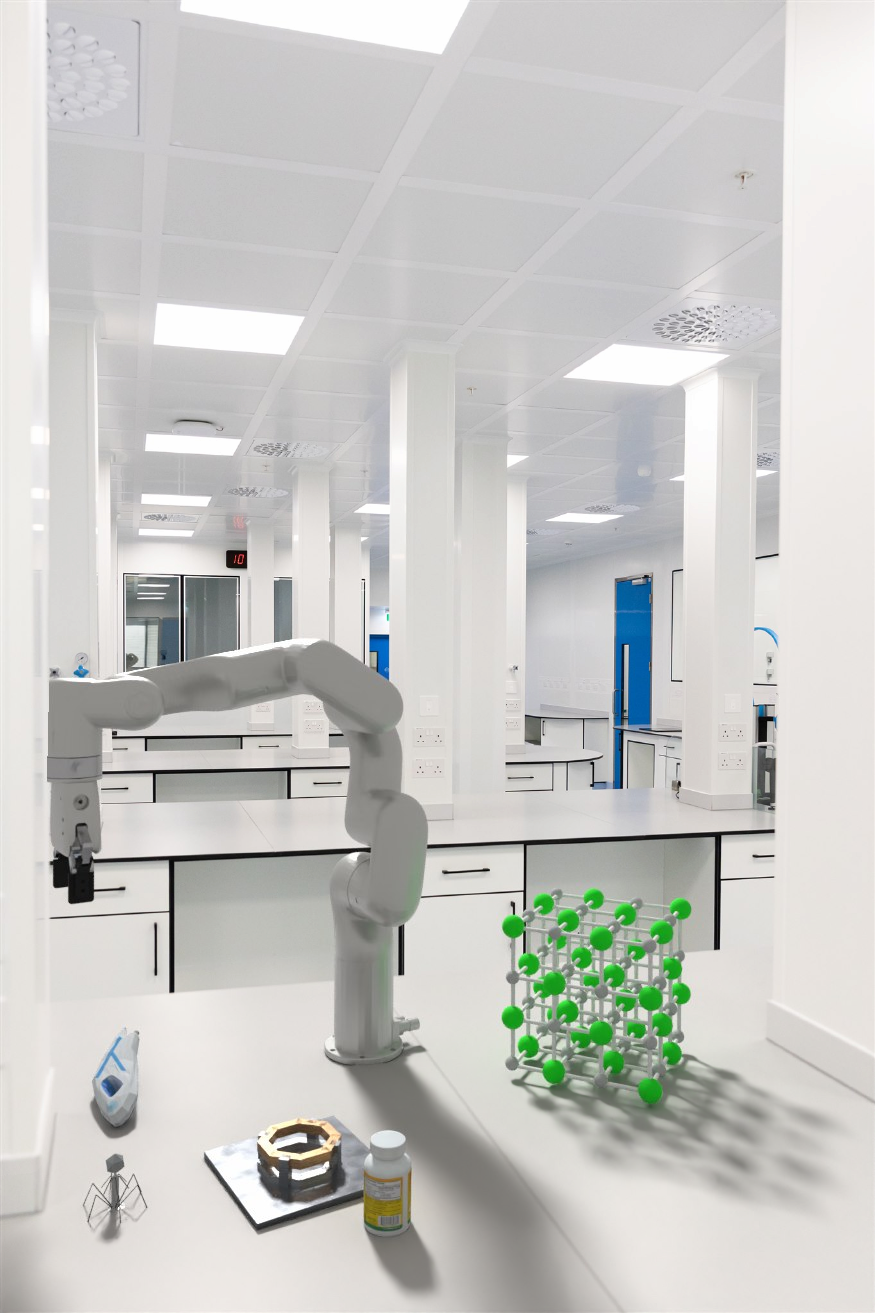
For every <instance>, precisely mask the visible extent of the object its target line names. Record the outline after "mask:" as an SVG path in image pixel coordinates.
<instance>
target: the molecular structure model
mask: <svg viewBox="0 0 875 1313" xmlns="http://www.w3.org/2000/svg"><path fill="white" fill-rule="evenodd" d="M562 898H568V899H577V900H583V902H584V903H581V902H580V903H578V904H577V905H576V906H575V907H571V906H563V905H560V900H561V899H562ZM604 903H609V904H619V905H617V907H616V908H615V910H614V911H613V912H612V911H605V910H604V911H603V910H598V909H599V908H601V907H602V906H603V905H604ZM642 907H644V908H645V907H646V908H653V909H661V910H662V909H663V910H669V912H670V913H667V914H665V915H663V917H652V916H644V915H640V914H639V910H640V909H641V908H642ZM533 908H534V909H533V910H532V909H529V908H528V909H527V908H526V909H525V910H524V911H523V912H522V914H521V917H520V916H519V915H516V914H510V915H508V916H506V917H505V918H504V919H503V921H502V923H501V928H502V931H503V934H505V936H507V937H508V938H510V970H509V971H507V973H506V975H505V980H506V982H507V983H508V984H510V1005H509V1006H507V1007H505V1008H504V1009H503V1011H502V1012H501V1022H502V1024H503V1025H504V1027H506V1028H507V1029H509V1030H510V1056H508V1057H507V1058H506V1059H505V1062H504V1064H505V1067H506V1069H507V1070H509V1071H511V1072H512V1071H516V1070H517V1069H521V1070H526V1071H531V1072H536V1073H540V1074H542V1076H543V1078H544V1080H545V1081H546V1082H548V1083H549V1084H551V1085H557V1084H559V1083H562V1082H563V1081H564V1079H565V1078H566V1079H571V1080H576V1081H582V1082H587V1083H592V1084H594V1085H595V1087H597V1088H599V1089H604V1088H606V1087H612V1088H617V1089H621V1090H627V1091H630V1092H631V1091H632V1092H636V1093H638V1095H639V1097H640V1099H641V1100H642V1101H643V1102H644V1103H646V1104H651V1105H652V1104H656V1103H657V1102H659V1101H660V1100H661V1099H662V1096H663V1091H664V1090H663V1087H662V1085H661V1083H660V1082H659V1081H658V1079H660V1078H661V1079H662V1078H664V1077H665V1076H666V1075H667V1068H666V1067H667V1066H666V1064H667V1065H670V1066H672V1065H673V1066H674V1065H677V1064H678V1063H679V1062H680V1061H681V1059H682V1056H683V1051H682V1048H681V1046H680V1045H679V1044H681V1043H683V1041H684V1040H685V1034H684V1032H683V1031H682V1005H685V1004H687V1003H688V1002H689V1000H690V999H691V996H692V992H691V989H690V987H689V986H688V985H687V984H685V983H684V982H682V972H683V966H682V962H684V960H685V958H686V954H685V952H684V950H682V947H683V946H682V942H683V941H682V940H683V938H682V936H683V935H682V933H683V926H682V925H683V923H682V922H683V920H687V919H688V918H689V917H690V916H691V914H692V906H691V903H690V902H689V901H688V900H687V899H685V898H683V897H682V898H681V897H678V898H675V899H673V901H672V902H671V903H670V905H665V904H656V903H645V902H643V899H642V898H640V897H638V896H634V897H632V898H631V899H630V900H624V899H623V900H621V899H612V898H605V896H604V894H603V892H602V891H601V890H600V889H599V888H589V889H588V890H586V891H585V893H584V895H578V894H569V893H563V891H562V889H561V888H560V887H554V888H552V889H551V892H550V894H548V893H546V892H545V893H542V892H541V893H539V894H537V895H536V896H535V897H534V899H533ZM553 910H555V917H554V916H547V915H548V914H550V913H552V911H553ZM537 913H538V914H540V915H538V914H537ZM587 914H591V922H590V921H585V917H586V916H587ZM597 915H600V916H609V917H614V919H610V920H609V921H608V922H607V923H599V922H596V916H597ZM534 920H541V921H540V922H541V926H540V927H541V928H536V927H531V926H532V924H531V923H532V922H533V921H534ZM546 921H547V922H548V921H550V922H555V925H551V926H550V927H549V928H548V929H546ZM640 921H649V922H650V921H651V922H654V923H652V924H651V926H650V929H646V928H639V924H640V923H639V922H640ZM525 923H526V926H525ZM676 923H677V949H674V927H675V925H676ZM632 924H634V927H631V926H630V925H632ZM585 926H586V927H587V926H588V927H591V932H590V934H585ZM578 927H579V933H576V932H575V933H574V931H576V930H577V929H578ZM620 931H623V939H621V938H620V939H618V938H617V934H618V933H620ZM524 932H526V952H525V953H523V954H522V955H521V956H520V957H519V958H518V963H517V966H518V969H519V970H518V971H516V939H517V938H519V937H520V936H522V935H523V933H524ZM532 932H533V933H537V934H538V933H539V934H541V943H540V944H539V945H538V946H537V949H536V953H537V954H534V953H532V952H531V935H532V934H531V933H532ZM629 932H634V938H632V939H630V940H628V939H629V937H628V936H629ZM639 933H640V934H650V936H651V937H647V938H644V940H641V939H639ZM546 934H547V938H546ZM572 938H576V939H572ZM577 939H579V940H577ZM546 940H547V943H548V945H547V944H546ZM584 940H587V941H584ZM572 944H576V945H579V946H578V947H575V948H574V949H573V950H572ZM617 944H621V945H623V946H619V945H617ZM657 944H658V946H657ZM666 944H668V952H664V945H666ZM585 946H587V947H585ZM565 947H566V951H561V950H562V949H563V948H565ZM657 947H658V951H656V949H657ZM610 949H611V958H609V957H605V951H608V950H610ZM596 950H597V951H599V954H598V956H596ZM617 951H623V955H622V956H621V957H620V958H619V959H617ZM549 954H551V958H552V959H551V960H552V961H551V962H552V964H551V965H546V957H547V956H549ZM646 954H647V963H643V962H639V961H641V960H642V959H643V958H645V956H646ZM653 955H654V956H658V964H654V961H653V959H654V956H653ZM560 956H564V957H566V963H565V964H563V965H562V967H560ZM664 957H665V958H664ZM540 959H541V963H540ZM571 961H572V962H571ZM596 961H599V968H598V970H599V971H598V970H596ZM605 962H607V963H611V964H608V965H607V966H605V965H604V964H605ZM590 966H591V968H590V970H589V971H585V970H584V969H587V968H588V967H590ZM604 966H605V967H604ZM632 966H633V967H634V972H633V973H634V974H633V975H634V978H630V977H628V976H629V975H628V972H629V971H628V969H630V968H631V967H632ZM575 967H576V968H578V969H579V970H578V969H575ZM639 967H640V968H645V969H646V968H647V980H644V979H639ZM539 970H540V971H541V973H540V976H539V977H536V978H534V977H531V976H533V975H535V974H536V973H538V971H539ZM546 970H548V971H549V972H548V973H546ZM654 970H658V975H656V976H655V977H654V978H653V975H654V972H653V971H654ZM522 974H523V975H526V976H521V975H522ZM574 975H578V976H574ZM571 980H572V981H578V982H579V984H573V983H572V982H571ZM667 980H668V983H667ZM675 980H676V982H674V983H673V981H675ZM519 981H522V982H526V984H525V985H526V989H525V990H526V991H525V994H526V995H525V996H524V997H523V998H522V1001H521V1004H522V1007H521V1008H520V1007H519V1006H516V984H517V983H518V982H519ZM531 983H532V989H533V993H534V995H533V996H532V995H531ZM628 983H630V984H628ZM667 984H668V987H667ZM643 985H645V986H643ZM609 987H610V988H611V989H609ZM666 987H667V988H668V989H667V990H665V988H666ZM617 988H621V989H619V990H618V991H617ZM571 989H573V990H578V991H576V992H572V991H571ZM590 992H591V995H590V994H589V993H590ZM560 995H563V996H566V999H564V1000H562V1001H560ZM608 995H611V998H610V997H608ZM664 995H667V996H668V998H667V999H668V1000H667V1001H668V1002H666V1003H664ZM549 997H551V998H552V999H551V1000H552V1001H551V1004H546V999H548V998H549ZM572 997H574V998H575V1001H574V1000H572V999H571V998H572ZM538 998H540V999H541V1000H540V1002H536V1000H537V999H538ZM588 999H589V1000H590V1001H591V1003H590V1005H591V1007H590V1008H591V1010H590V1011H588V1010H584V1004H585V1003H586V1002H587V1001H588ZM596 1001H598V1004H599V1005H598V1010H599V1011H598V1012H596ZM604 1002H607V1003H611V1010H609V1011H608V1012H607V1014H606V1013H604ZM578 1005H579V1006H578ZM534 1007H537V1008H540V1009H541V1010H540V1020H536V1019H535V1020H534V1019H531V1010H532V1009H533V1008H534ZM639 1008H643V1009H644V1010H646V1011H647V1020H644V1019H643V1020H641V1019H640V1018H639ZM546 1009H547V1011H546ZM632 1010H633V1017H628V1012H630V1011H632ZM525 1011H526V1013H525V1014H526V1015H524V1012H525ZM654 1011H658V1012H656V1013H654V1014H653V1012H654ZM621 1012H623V1013H622V1014H623V1015H622V1016H621ZM675 1015H676V1023H677V1024H676V1029H675V1030H673V1026H674V1023H673V1016H675ZM525 1016H526V1018H525ZM584 1016H588V1017H587V1018H586V1019H584ZM578 1017H579V1018H578ZM546 1018H547V1020H548V1021H546ZM604 1019H607V1021H605V1020H604ZM574 1022H575V1023H578V1024H579V1025H577V1026H576V1027H574V1026H571V1023H574ZM619 1022H622V1025H618V1024H619ZM523 1023H524V1024H525V1027H526V1028H525V1031H526V1032H525V1034H524V1035H522V1036H520V1038H519V1040H518V1042H517V1050H518V1053H519V1055H518V1056H517V1057H516V1030H517V1029H519V1028H520V1027H521V1026H523ZM564 1023H566V1025H563V1024H564ZM585 1024H586V1025H587V1027H586V1026H584V1025H585ZM531 1025H536V1029H535V1031H536V1034H537V1036H536V1037H535V1036H534V1035H532V1034H531ZM561 1030H563V1031H566V1033H561V1032H560V1031H561ZM617 1030H619V1031H622V1035H621V1034H620V1035H619V1034H617V1032H616V1031H617ZM546 1036H551V1049H548V1048H543V1047H540V1043H539V1040H540V1039H541V1038H542V1037H546ZM557 1037H559V1038H565V1039H566V1040H565V1046H563V1047H562V1049H561V1051H559V1050H557ZM656 1037H658V1038H656ZM664 1038H665V1039H667V1041H665V1042H664ZM617 1040H618V1042H616V1041H617ZM571 1042H572V1046H571ZM663 1042H664V1043H663ZM591 1043H592V1044H595V1045H597V1046H598V1058H595V1057H589V1056H585V1055H580V1054H575V1051H576V1049H577V1048H579V1049H585V1048H588V1047H589V1046H590V1045H591ZM632 1043H638V1044H643V1046H644V1047H641V1046H636V1045H635V1046H634V1045H632ZM604 1046H609V1047H611V1049H610V1050H607V1051H606V1052H605V1053H604ZM657 1047H658V1049H656V1048H657ZM617 1048H619V1051H617V1050H616V1049H617ZM630 1050H631V1051H636V1052H642V1053H647V1061H646V1062H647V1067H645V1066H644V1067H643V1066H638V1065H635V1064H634V1065H633V1064H627V1063H625V1059H624V1057H623V1054H624V1053H626V1052H629V1051H630ZM538 1053H544V1054H550V1055H551V1059H549V1060H546V1061H545V1063H544V1064H543V1066H542V1068H540V1067H535V1066H531V1065H525V1064H520V1061H521V1060H522V1059H523V1058H526V1059H531V1058H534V1057H536V1055H538ZM653 1055H658V1056H657V1057H658V1058H657V1061H658V1062H656V1063H654V1064H653ZM557 1056H558V1057H559V1056H560V1057H562V1058H561V1060H558V1059H557ZM572 1059H576V1060H579V1061H580V1060H581V1061H585V1062H591V1063H597V1064H598V1073H597V1074H595V1075H594V1077H593V1078H591V1077H586V1076H582V1075H576V1074H571V1073H566V1068H565V1066H564V1064H565V1063H566V1061H571V1060H572ZM623 1069H629V1070H634V1071H639V1072H644V1073H647V1074H646V1075H647V1076H646V1077H645V1078H643V1079H642V1080H640V1082H639V1084H638V1087H637V1086H632V1085H627V1084H621V1083H618V1082H613V1081H609V1080H608V1077H609V1074H611V1075H616V1074H617V1075H618V1074H619V1073H621V1072H622V1071H623Z"/></svg>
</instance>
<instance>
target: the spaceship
mask: <svg viewBox="0 0 875 1313" xmlns="http://www.w3.org/2000/svg"><path fill="white" fill-rule="evenodd" d="M139 1045H140V1032H139V1030H133V1032H130V1033H129V1034H127V1028H126V1027H123V1028H122V1029H121V1030H120V1031H119V1032H118V1034H116V1036H115V1037H114V1039H113V1041H112V1042H111V1044H110V1046H108V1049H107V1051H106V1052H105V1054H104V1055H103V1057H102V1058H101V1061H100V1062H99V1065H98V1067H97V1069H96V1071H95V1073H94V1075H93V1078H92V1081H91V1083H92V1088H93V1089H92V1092H93V1095H94V1098H95V1100H96V1104H97V1106H98V1109H99V1111H100V1113H101V1115H102V1116H103V1117H104V1118H105V1119H106V1120H107V1121H108V1122H109V1123H110V1124H111V1125H112V1126H113V1127H116V1128H117V1127H120V1126H122V1125H123V1124H125V1122H126V1121H127V1120H128V1119H129V1118H130V1117H131V1115H132V1113H133V1110H134V1108H136V1105H137V1102H138V1097H139V1064H138V1053H139V1052H138V1050H139Z"/></svg>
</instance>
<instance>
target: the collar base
mask: <svg viewBox="0 0 875 1313" xmlns="http://www.w3.org/2000/svg"><path fill="white" fill-rule="evenodd" d="M370 1153H371V1152H370V1147H368V1146H367V1145H366V1144H365V1143H363V1141H362V1140H361V1139H360V1138H358V1137H357V1136H356V1135H355V1134H354V1133H353V1132H352V1131H351V1130H350V1129H349V1128H348V1127H346V1126H345V1124H343V1123H342V1122H341V1121H340V1120H339V1119H338V1118H337V1117H336V1116H335V1115H331V1116H327V1117H325V1118H320V1119H319V1118H315V1117H309V1118H308V1119H307V1118H299V1117H298V1118H295V1119H291V1120H287V1121H284V1122H281V1123H276V1124H273V1125H269V1127H268V1128H267V1129H266V1130H262V1131H260V1133H259V1134H258V1135H257V1136H256V1137H251V1138H247V1139H245V1140H241V1141H237V1142H233V1143H230V1144H226V1145H222V1146H219V1147H216V1148H215V1147H214V1148H212V1149H208V1150H204V1151H203V1159H204V1160H205V1161H206V1163H207V1164H208V1165H209V1167H210V1168H211V1169H212V1171H213V1172H214V1174H215V1175H216V1176H217V1178H218V1179H219V1180H220V1183H222V1185H223V1186H224V1188H225V1189H226V1190H227V1192H228V1193H229V1194H230V1196H231V1197H232V1198H233V1200H234V1201H235V1203H236V1204H237V1205H238V1206H239V1208H240V1209H241V1210H242V1212H243V1213H244V1215H245V1216H246V1217H247V1219H248V1220H249V1222H250V1223H251V1225H253V1227H254V1228H255V1229H256V1231H261V1230H264V1229H267V1228H270V1227H273V1226H277V1225H280V1224H283V1223H286V1222H289V1221H292V1220H295V1219H298V1218H301V1217H302V1218H303V1217H305V1216H307V1215H312V1214H315V1213H317V1212H321V1211H325V1210H328V1209H330V1208H333V1207H336V1206H339V1205H343V1204H346V1203H350V1202H352V1201H356V1200H359V1199H362V1198H364V1162H365V1159H366V1158H367V1156H368V1155H369V1154H370Z"/></svg>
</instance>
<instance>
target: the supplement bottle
mask: <svg viewBox="0 0 875 1313" xmlns="http://www.w3.org/2000/svg"><path fill="white" fill-rule="evenodd" d="M369 1149H370V1152H371V1153H370V1154H369V1155H368V1156H367V1158H366V1159H365V1162H364V1197H363V1225H364V1228H365V1230H366V1231H367V1232H369V1233H371V1234H372V1235H374V1236H377V1237H383V1238H385V1237H387V1238H389V1237H396V1236H400V1235H401V1234H403V1233H405V1232H406V1231H407V1230H408V1229H409V1227H410V1226H411V1219H412V1218H411V1217H412V1173H413V1172H412V1168H413V1167H412V1161H411V1158H410V1156H409V1155H408V1154H407V1153H406V1151H407V1140H406V1136H405V1135H404V1134H403V1133H401V1132H399V1131H396V1130H389V1129H387V1130H380V1131H377V1132H375V1133H374V1134H372V1135H371V1137H370V1140H369Z"/></svg>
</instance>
